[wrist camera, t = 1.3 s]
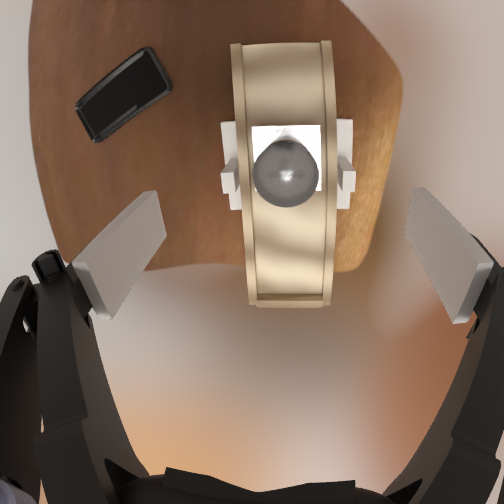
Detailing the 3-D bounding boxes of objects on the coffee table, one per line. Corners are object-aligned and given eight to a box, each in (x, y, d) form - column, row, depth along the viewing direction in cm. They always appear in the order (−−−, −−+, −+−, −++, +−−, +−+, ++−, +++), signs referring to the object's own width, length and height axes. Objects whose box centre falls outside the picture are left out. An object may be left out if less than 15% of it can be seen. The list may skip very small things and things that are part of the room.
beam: (235, 54, 27) (226, 43, 23) (328, 51, 26) (334, 39, 21) (251, 285, 40) (246, 306, 35) (328, 285, 38) (332, 307, 34)
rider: (256, 126, 28) (232, 128, 16) (315, 125, 27) (335, 126, 15) (260, 182, 30) (239, 223, 18) (317, 181, 29) (334, 222, 18)
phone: (73, 105, 32) (147, 43, 27) (77, 104, 33) (151, 44, 28) (95, 146, 36) (173, 90, 31) (99, 144, 37) (177, 89, 32)
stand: (222, 121, 34) (207, 130, 28) (350, 118, 31) (364, 127, 25) (238, 257, 45) (230, 286, 39) (343, 257, 42) (349, 287, 37)
